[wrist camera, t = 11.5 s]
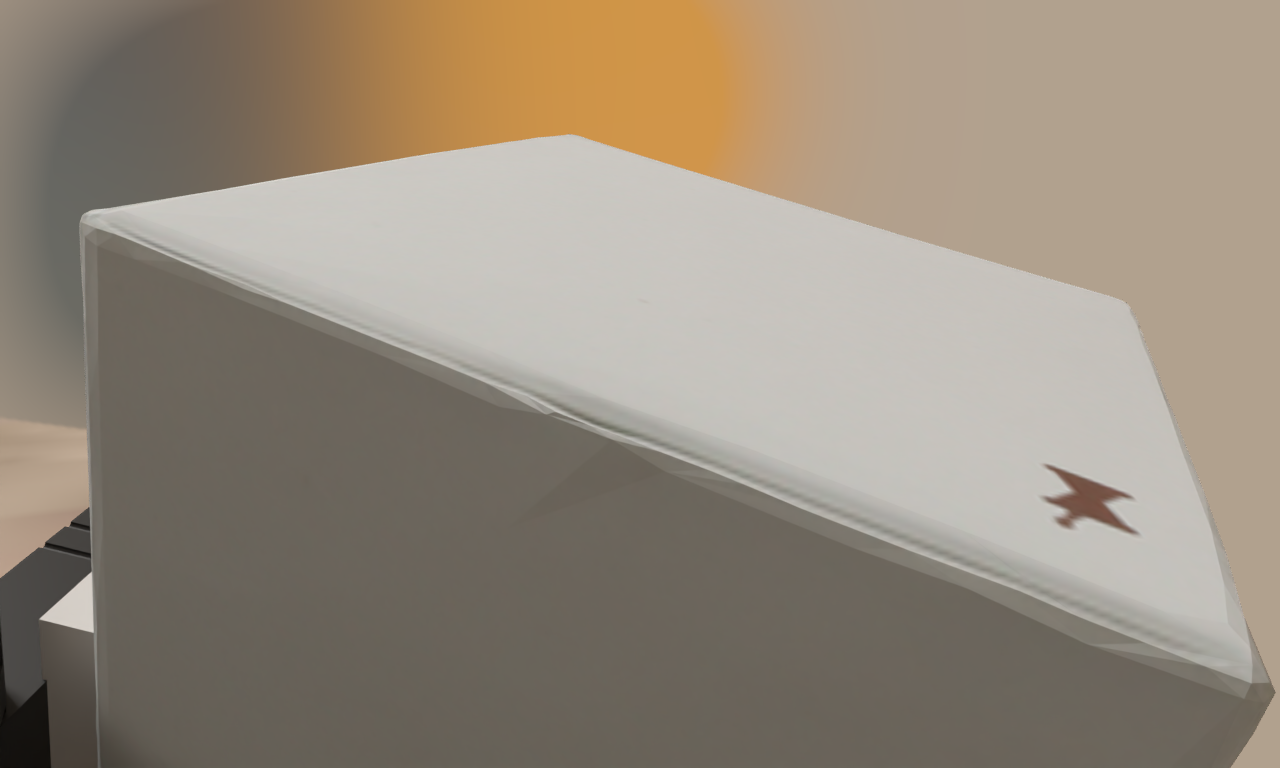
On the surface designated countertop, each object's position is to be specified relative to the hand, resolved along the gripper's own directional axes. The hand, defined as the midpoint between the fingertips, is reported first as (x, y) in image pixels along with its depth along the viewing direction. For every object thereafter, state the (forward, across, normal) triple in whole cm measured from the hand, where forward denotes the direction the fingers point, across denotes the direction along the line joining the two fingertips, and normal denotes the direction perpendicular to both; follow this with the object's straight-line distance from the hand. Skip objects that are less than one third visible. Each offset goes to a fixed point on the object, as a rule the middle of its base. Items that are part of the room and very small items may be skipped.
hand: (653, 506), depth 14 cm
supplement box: (-5, 0, -7) cm, 9 cm away
